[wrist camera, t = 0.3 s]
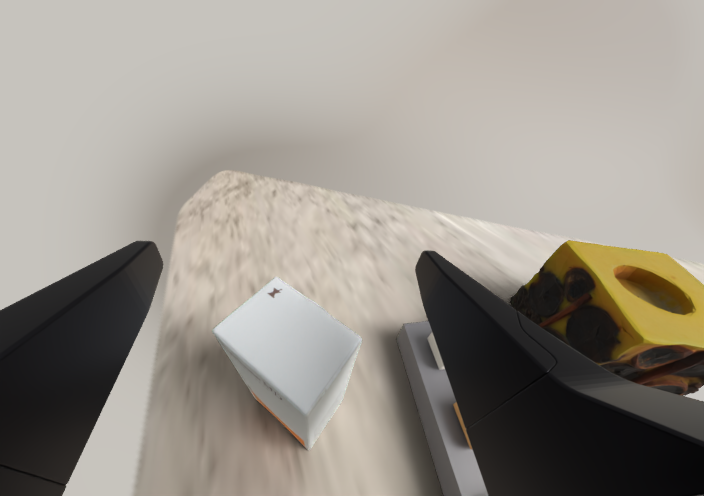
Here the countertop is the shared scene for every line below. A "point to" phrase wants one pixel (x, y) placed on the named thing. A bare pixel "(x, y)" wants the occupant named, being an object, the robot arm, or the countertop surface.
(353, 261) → the countertop surface
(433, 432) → the block
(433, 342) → the block
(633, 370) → the yellow and black cube
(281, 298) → the skincare box
